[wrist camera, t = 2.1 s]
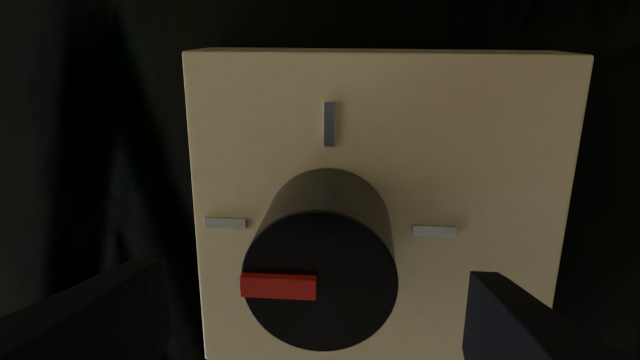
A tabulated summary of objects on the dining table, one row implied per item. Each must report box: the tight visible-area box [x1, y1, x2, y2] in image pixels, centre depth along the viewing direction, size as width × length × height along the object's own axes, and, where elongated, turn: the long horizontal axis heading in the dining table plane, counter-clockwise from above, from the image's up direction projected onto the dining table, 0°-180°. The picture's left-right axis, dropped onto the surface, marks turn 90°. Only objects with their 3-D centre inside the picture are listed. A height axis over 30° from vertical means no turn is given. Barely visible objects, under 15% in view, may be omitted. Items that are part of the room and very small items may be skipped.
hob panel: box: [182, 47, 594, 360], centre depth 17 cm, size 12×11×3 cm
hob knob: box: [239, 168, 399, 352], centre depth 14 cm, size 4×4×4 cm
